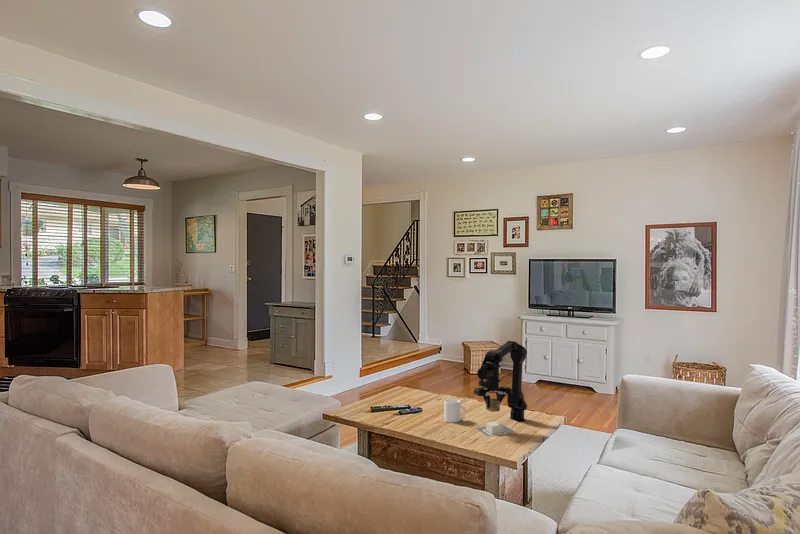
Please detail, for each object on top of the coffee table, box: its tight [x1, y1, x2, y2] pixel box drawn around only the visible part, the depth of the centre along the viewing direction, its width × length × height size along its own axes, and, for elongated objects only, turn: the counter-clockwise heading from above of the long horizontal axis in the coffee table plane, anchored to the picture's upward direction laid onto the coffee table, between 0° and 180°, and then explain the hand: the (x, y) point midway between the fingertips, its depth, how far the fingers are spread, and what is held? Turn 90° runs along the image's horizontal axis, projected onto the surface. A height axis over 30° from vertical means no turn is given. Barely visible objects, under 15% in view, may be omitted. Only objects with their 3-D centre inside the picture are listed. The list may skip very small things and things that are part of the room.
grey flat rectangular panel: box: [475, 424, 516, 437], centre depth 237 cm, size 16×12×1 cm
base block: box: [485, 420, 504, 435], centre depth 235 cm, size 6×6×4 cm
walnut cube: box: [485, 398, 501, 413], centre depth 238 cm, size 5×5×5 cm
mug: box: [443, 398, 467, 424], centre depth 253 cm, size 9×12×11 cm
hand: (492, 408), depth 238 cm, fingers closed on walnut cube, 5 cm apart
